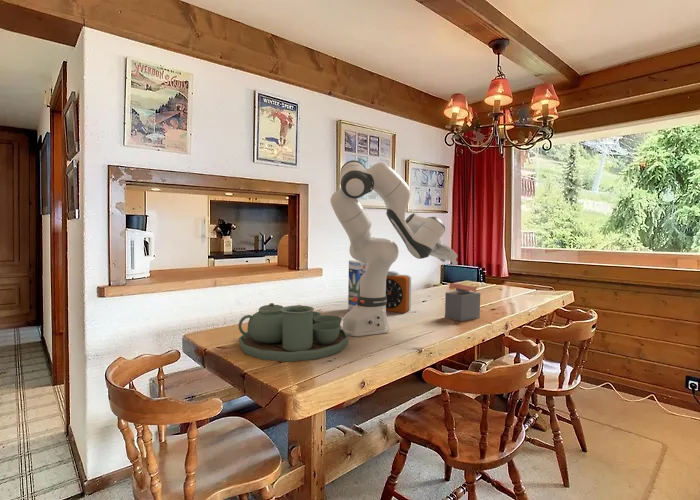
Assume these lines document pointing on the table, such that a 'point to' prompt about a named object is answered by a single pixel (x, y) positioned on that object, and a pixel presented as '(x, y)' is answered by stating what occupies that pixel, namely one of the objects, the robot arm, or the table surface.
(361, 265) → the string lights box
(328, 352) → the tea set
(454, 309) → the switch box
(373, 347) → the table surface
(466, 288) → the rocker
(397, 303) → the alarm clock
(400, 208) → the robot arm
